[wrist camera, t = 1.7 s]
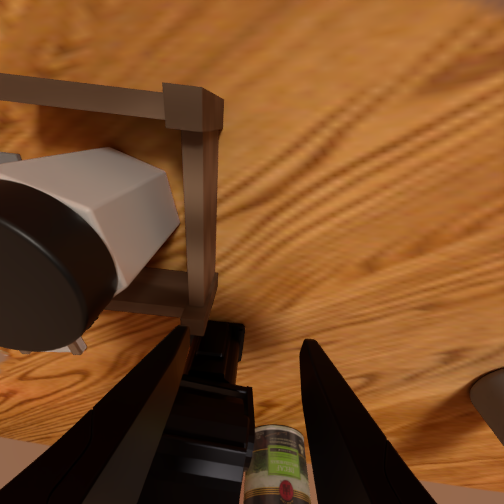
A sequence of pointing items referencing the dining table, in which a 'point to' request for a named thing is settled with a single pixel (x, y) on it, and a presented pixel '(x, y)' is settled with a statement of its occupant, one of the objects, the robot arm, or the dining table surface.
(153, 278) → the brown u-shaped frame
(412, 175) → the dining table surface
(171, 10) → the dining table surface
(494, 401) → the water bottle
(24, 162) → the jar
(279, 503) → the coffee can
